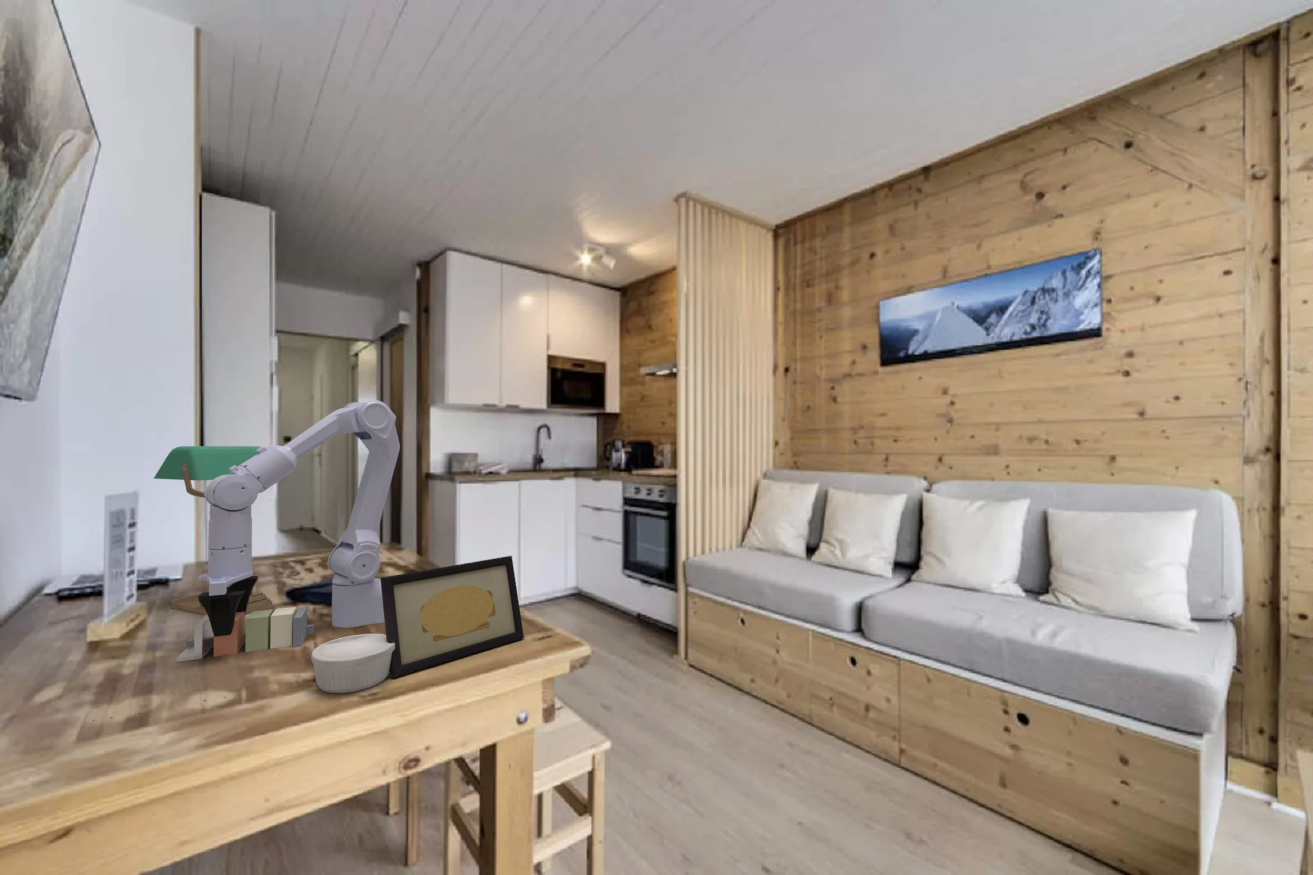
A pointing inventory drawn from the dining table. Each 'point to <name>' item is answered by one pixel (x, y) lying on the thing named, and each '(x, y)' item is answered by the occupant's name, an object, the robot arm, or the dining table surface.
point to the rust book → (231, 638)
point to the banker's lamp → (204, 466)
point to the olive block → (258, 630)
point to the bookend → (199, 641)
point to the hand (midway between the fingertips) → (229, 628)
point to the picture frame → (450, 612)
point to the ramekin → (352, 662)
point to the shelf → (298, 629)
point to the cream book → (282, 627)
